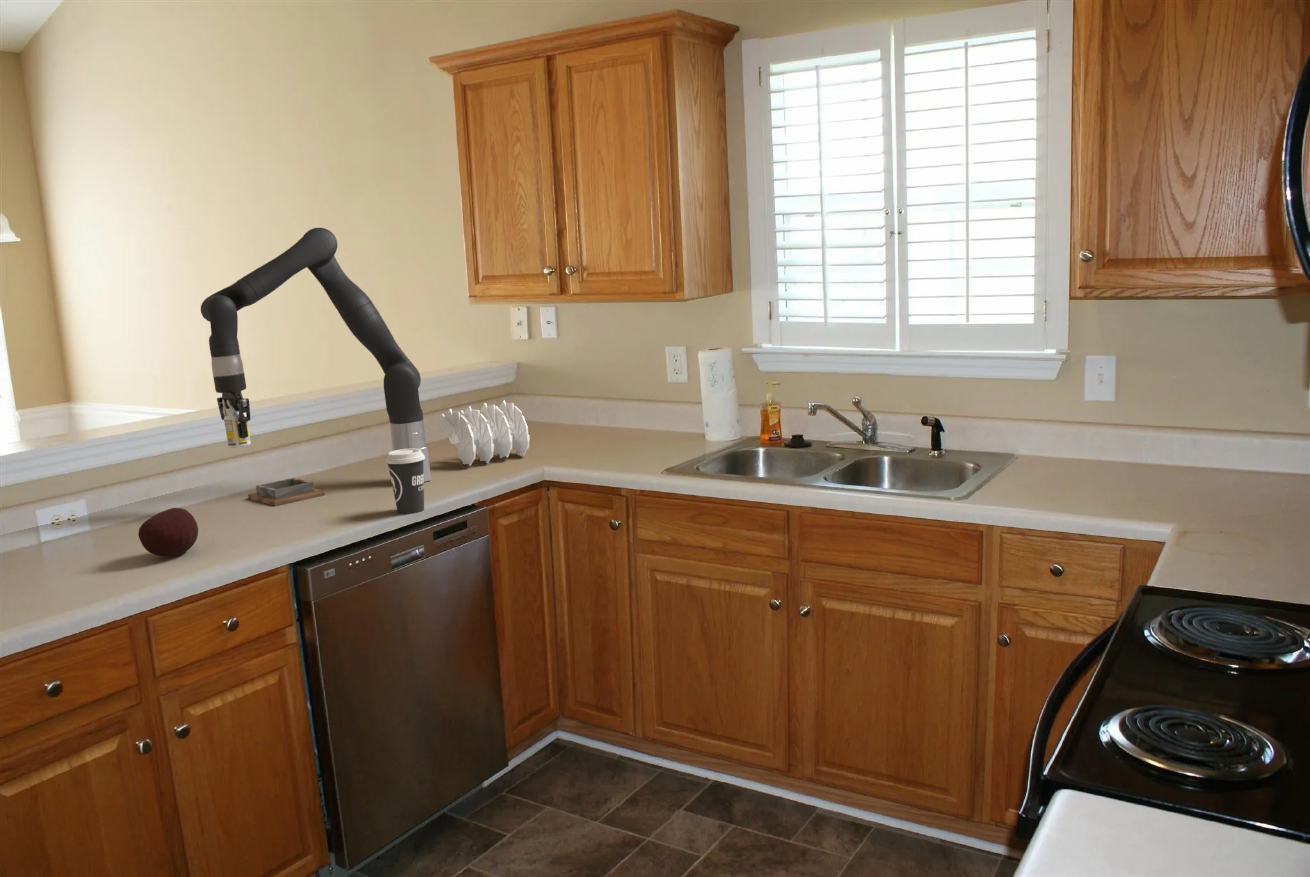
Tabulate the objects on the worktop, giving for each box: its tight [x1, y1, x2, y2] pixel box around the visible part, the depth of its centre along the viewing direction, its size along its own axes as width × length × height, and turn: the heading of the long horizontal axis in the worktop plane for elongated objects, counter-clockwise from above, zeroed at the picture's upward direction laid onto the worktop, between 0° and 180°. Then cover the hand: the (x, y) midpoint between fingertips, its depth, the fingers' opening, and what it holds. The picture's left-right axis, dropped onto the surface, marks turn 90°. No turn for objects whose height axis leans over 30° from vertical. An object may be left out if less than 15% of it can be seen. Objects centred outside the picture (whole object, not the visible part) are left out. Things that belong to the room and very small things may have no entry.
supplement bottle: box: [223, 408, 252, 449], centre depth 271 cm, size 6×6×10 cm
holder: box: [247, 477, 325, 507], centre depth 283 cm, size 16×14×4 cm
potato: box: [137, 507, 199, 557], centre depth 229 cm, size 11×13×10 cm
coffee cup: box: [385, 449, 425, 515], centre depth 257 cm, size 10×10×15 cm
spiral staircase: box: [439, 400, 531, 467], centre depth 314 cm, size 18×18×25 cm
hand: (238, 436), depth 271 cm, fingers closed on supplement bottle, 5 cm apart
